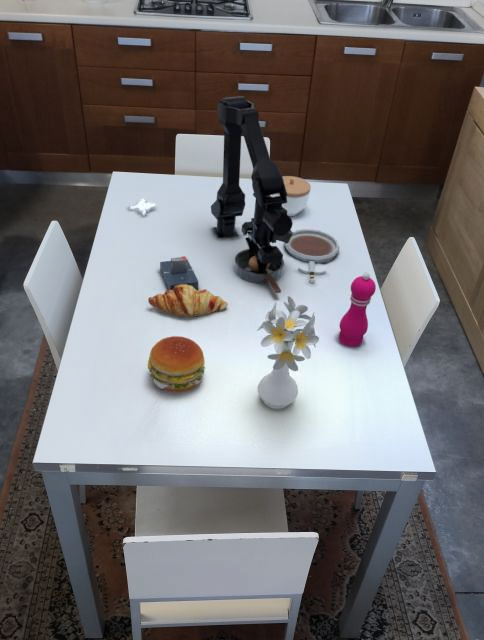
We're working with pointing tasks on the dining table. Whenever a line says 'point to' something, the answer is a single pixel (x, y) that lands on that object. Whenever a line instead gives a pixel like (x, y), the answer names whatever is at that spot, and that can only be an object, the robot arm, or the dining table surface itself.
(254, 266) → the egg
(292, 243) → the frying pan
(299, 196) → the lidded bowl
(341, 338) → the pepper mill
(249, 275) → the egg pan
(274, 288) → the egg pan handle
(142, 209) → the acanthus leaf ornament
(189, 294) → the croissant
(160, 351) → the burger
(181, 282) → the hob control
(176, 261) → the hob knob
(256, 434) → the dining table surface
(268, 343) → the flower vase
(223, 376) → the dining table surface
